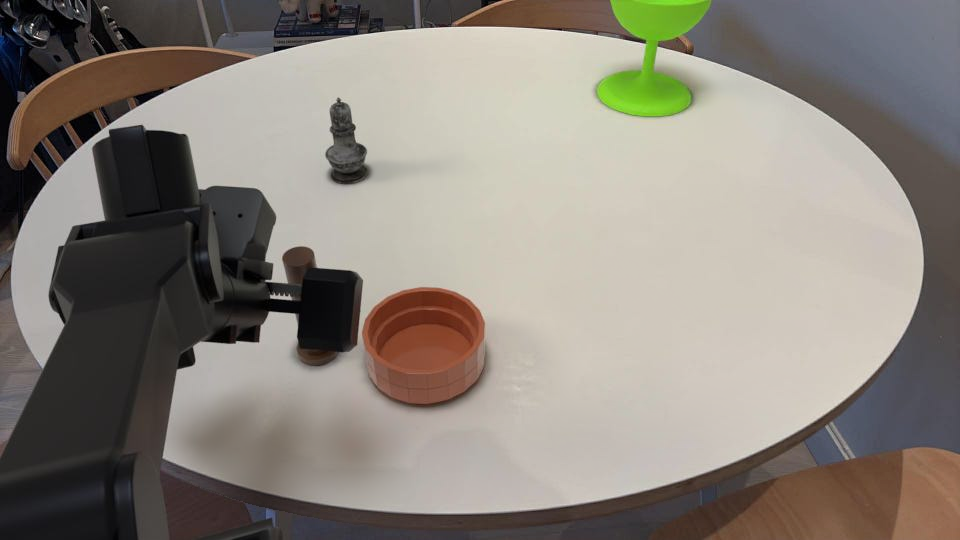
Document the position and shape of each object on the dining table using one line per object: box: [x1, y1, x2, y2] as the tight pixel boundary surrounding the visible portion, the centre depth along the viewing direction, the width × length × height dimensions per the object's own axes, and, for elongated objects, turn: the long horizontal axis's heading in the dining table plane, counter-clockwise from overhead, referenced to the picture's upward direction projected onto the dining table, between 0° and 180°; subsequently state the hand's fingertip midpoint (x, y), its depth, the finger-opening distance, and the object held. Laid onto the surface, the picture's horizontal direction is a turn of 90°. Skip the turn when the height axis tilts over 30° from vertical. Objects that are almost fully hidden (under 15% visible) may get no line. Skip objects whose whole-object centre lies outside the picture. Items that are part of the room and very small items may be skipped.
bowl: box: [361, 286, 486, 405], centre depth 72 cm, size 12×12×5 cm
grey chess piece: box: [324, 96, 368, 185], centre depth 97 cm, size 6×6×12 cm
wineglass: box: [596, 0, 713, 118], centre depth 114 cm, size 16×16×18 cm
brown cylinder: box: [281, 245, 340, 367], centre depth 70 cm, size 4×4×13 cm
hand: (278, 305), depth 62 cm, fingers open, 9 cm apart
